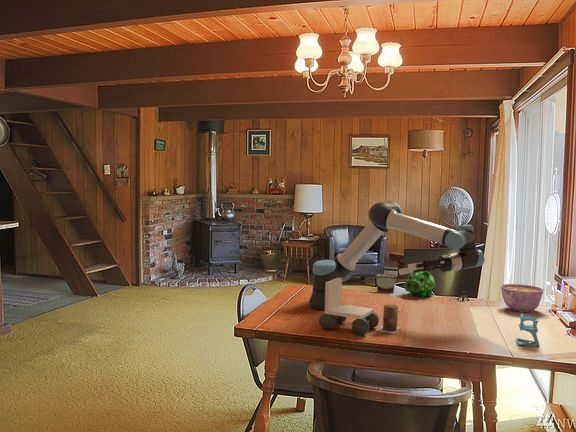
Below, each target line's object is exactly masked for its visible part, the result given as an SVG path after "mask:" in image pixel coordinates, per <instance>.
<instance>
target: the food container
mask: <svg viewBox="0 0 576 432" xmlns="http://www.w3.org/2000/svg"><path fill="white" fill-rule="evenodd" d="M375 279H376V289H377V290H376V292H378V293H388V294H394V292H395V284H396V281H397V276H396V275H395V274H390V273H377V274H376V275H375Z"/></svg>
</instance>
